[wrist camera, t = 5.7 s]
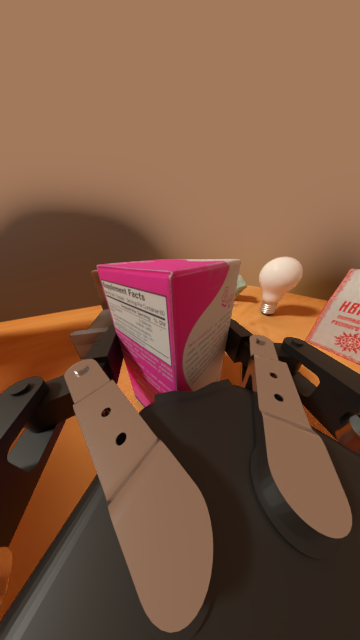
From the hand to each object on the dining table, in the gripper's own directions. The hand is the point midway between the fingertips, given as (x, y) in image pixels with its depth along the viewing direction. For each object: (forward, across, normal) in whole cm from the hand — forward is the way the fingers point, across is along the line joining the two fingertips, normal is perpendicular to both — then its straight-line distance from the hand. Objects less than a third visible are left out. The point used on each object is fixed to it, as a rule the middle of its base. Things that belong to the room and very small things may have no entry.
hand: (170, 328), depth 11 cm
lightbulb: (+11, -22, +6) cm, 25 cm away
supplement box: (-2, 0, +6) cm, 7 cm away
